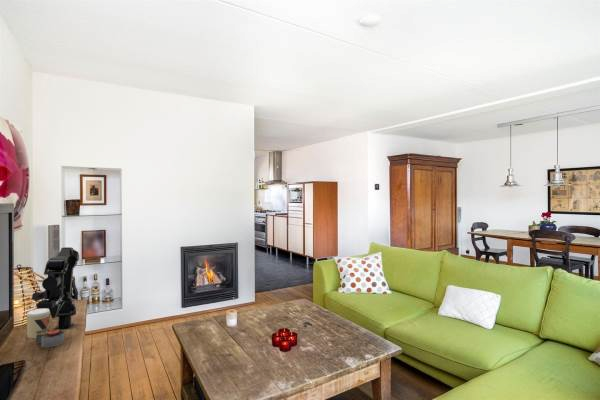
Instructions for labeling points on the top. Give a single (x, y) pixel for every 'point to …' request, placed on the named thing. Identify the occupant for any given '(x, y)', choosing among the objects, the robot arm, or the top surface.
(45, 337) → the grey open tray
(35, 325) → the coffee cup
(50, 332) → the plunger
